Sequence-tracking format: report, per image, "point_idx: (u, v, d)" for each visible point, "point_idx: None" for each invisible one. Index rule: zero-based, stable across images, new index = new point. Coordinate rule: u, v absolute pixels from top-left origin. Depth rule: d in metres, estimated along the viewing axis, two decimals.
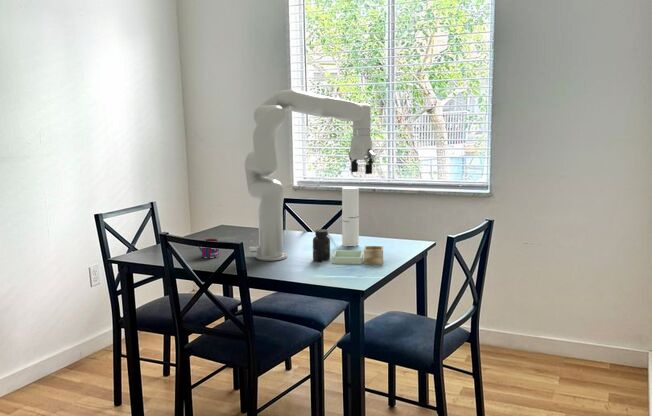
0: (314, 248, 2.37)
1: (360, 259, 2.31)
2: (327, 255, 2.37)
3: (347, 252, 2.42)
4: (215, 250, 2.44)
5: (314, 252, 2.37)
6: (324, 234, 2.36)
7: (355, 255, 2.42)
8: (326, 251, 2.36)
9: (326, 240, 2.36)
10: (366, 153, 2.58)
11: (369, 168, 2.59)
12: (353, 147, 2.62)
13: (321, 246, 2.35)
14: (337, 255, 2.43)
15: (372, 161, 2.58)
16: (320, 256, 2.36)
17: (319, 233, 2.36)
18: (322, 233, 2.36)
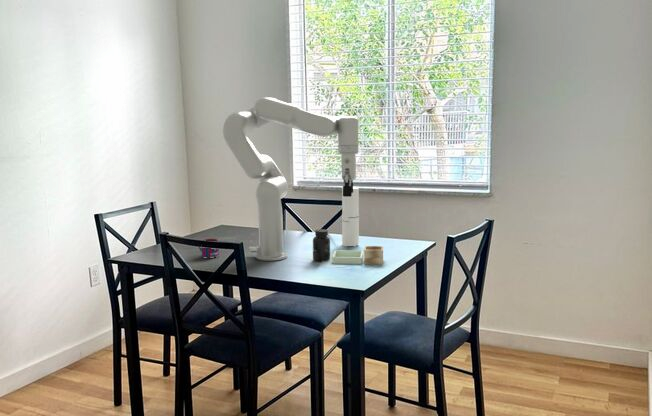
0: (314, 248, 2.37)
1: (360, 259, 2.31)
2: (327, 255, 2.37)
3: (347, 252, 2.42)
4: (215, 250, 2.44)
5: (314, 252, 2.37)
6: (324, 234, 2.36)
7: (355, 255, 2.42)
8: (326, 251, 2.36)
9: (326, 240, 2.36)
10: None
11: None
12: (355, 166, 2.29)
13: (321, 246, 2.35)
14: (337, 255, 2.43)
15: None
16: (320, 256, 2.36)
17: (319, 233, 2.36)
18: (322, 233, 2.36)
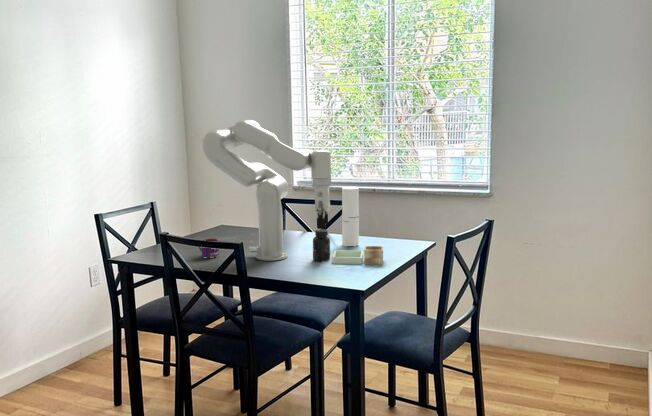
0: (314, 248, 2.37)
1: (360, 259, 2.31)
2: (327, 255, 2.37)
3: (347, 252, 2.42)
4: (215, 250, 2.44)
5: (314, 252, 2.37)
6: (324, 234, 2.36)
7: (355, 255, 2.42)
8: (326, 251, 2.36)
9: (326, 240, 2.36)
10: None
11: None
12: (328, 198, 2.33)
13: (321, 246, 2.35)
14: (337, 255, 2.43)
15: None
16: (320, 256, 2.36)
17: (319, 233, 2.36)
18: (322, 233, 2.36)
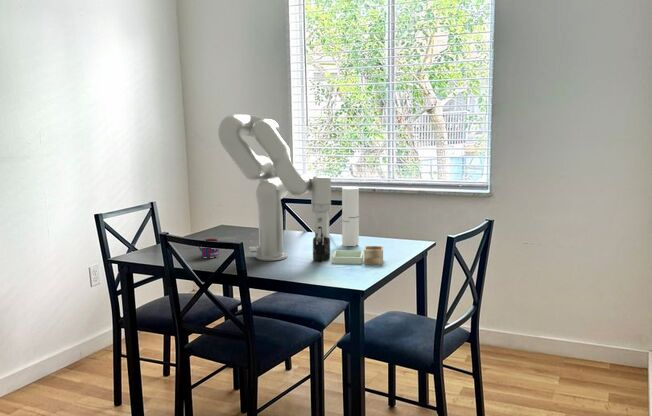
0: (314, 248, 2.37)
1: (360, 259, 2.31)
2: (327, 255, 2.37)
3: (347, 252, 2.42)
4: (215, 250, 2.44)
5: (314, 252, 2.37)
6: None
7: (355, 255, 2.42)
8: (326, 251, 2.36)
9: (326, 240, 2.36)
10: None
11: None
12: (327, 224, 2.35)
13: None
14: (337, 255, 2.43)
15: None
16: (320, 256, 2.36)
17: None
18: None
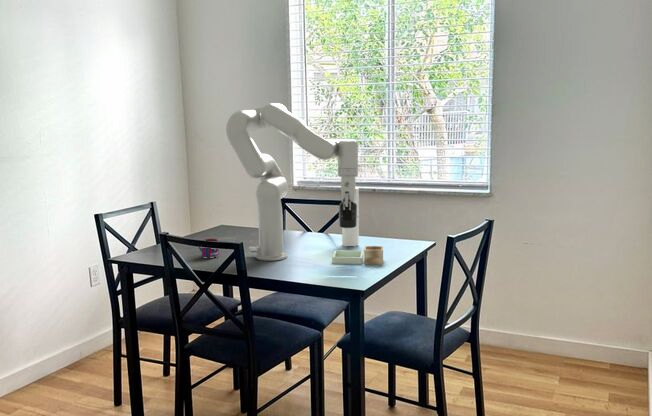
0: (341, 214, 2.33)
1: (360, 259, 2.31)
2: (354, 221, 2.33)
3: (347, 252, 2.42)
4: (215, 250, 2.44)
5: (341, 218, 2.33)
6: None
7: (355, 255, 2.42)
8: (352, 216, 2.32)
9: (353, 205, 2.32)
10: None
11: None
12: (354, 189, 2.31)
13: None
14: (337, 255, 2.43)
15: None
16: (347, 222, 2.32)
17: None
18: None
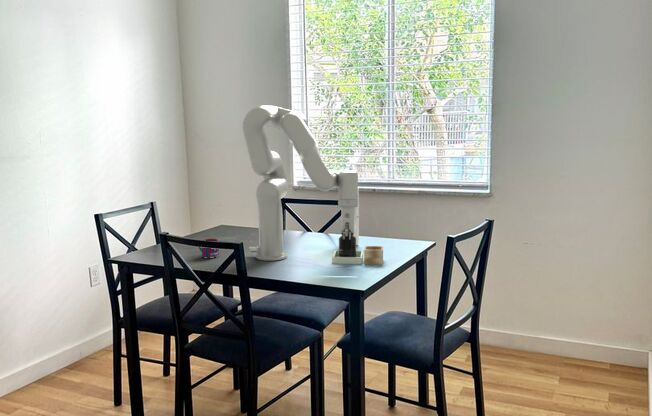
0: (340, 247, 2.35)
1: (360, 259, 2.31)
2: (353, 254, 2.35)
3: None
4: (215, 250, 2.44)
5: (340, 251, 2.35)
6: None
7: None
8: (352, 250, 2.34)
9: (352, 239, 2.34)
10: None
11: None
12: (354, 219, 2.33)
13: None
14: (337, 255, 2.43)
15: None
16: (346, 255, 2.34)
17: None
18: None
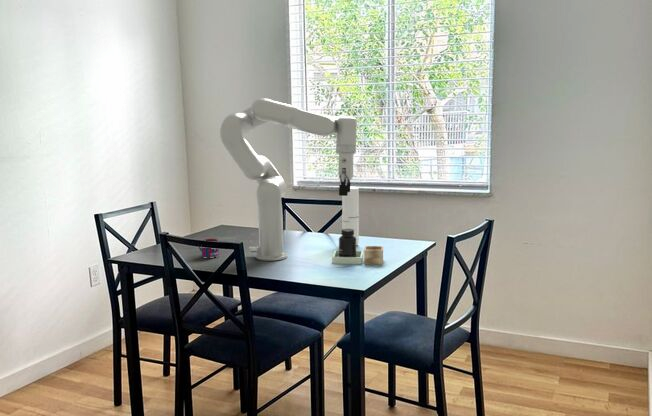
0: (340, 247, 2.35)
1: (360, 259, 2.31)
2: (353, 255, 2.35)
3: None
4: (215, 250, 2.44)
5: (340, 251, 2.35)
6: (350, 233, 2.34)
7: None
8: (352, 250, 2.34)
9: (352, 239, 2.34)
10: None
11: None
12: (352, 166, 2.32)
13: (347, 246, 2.33)
14: (337, 255, 2.43)
15: None
16: (346, 255, 2.34)
17: (345, 232, 2.34)
18: (348, 232, 2.33)
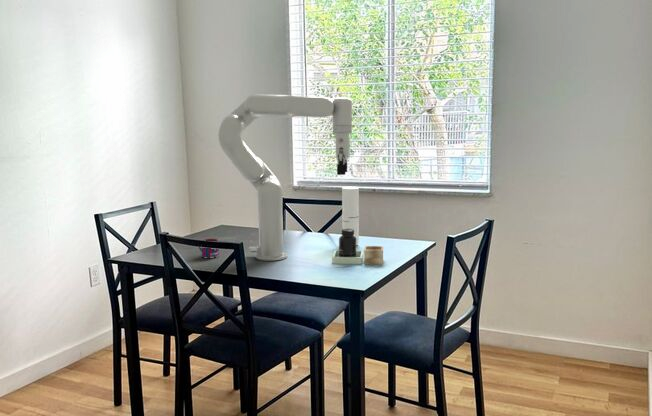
0: (340, 247, 2.35)
1: (360, 259, 2.31)
2: (353, 255, 2.35)
3: None
4: (215, 250, 2.44)
5: (340, 252, 2.35)
6: (351, 233, 2.34)
7: None
8: (352, 250, 2.34)
9: (353, 239, 2.34)
10: None
11: None
12: (348, 145, 2.38)
13: (347, 246, 2.33)
14: (337, 255, 2.43)
15: None
16: (346, 256, 2.34)
17: (346, 232, 2.34)
18: (349, 232, 2.33)
